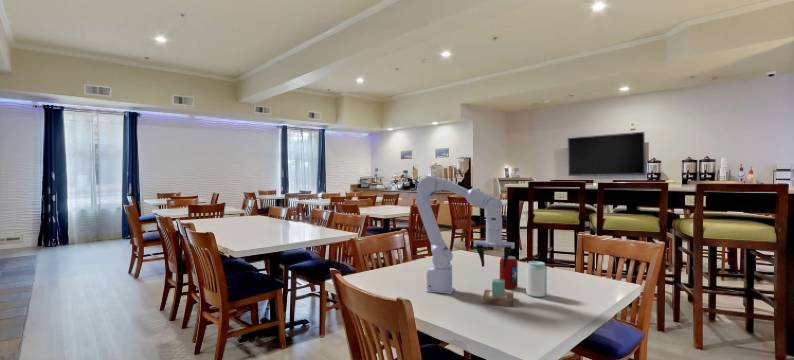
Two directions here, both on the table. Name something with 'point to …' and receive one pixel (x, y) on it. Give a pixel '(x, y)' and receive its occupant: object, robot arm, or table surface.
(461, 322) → the table surface
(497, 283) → the teal block
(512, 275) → the beverage can
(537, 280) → the can
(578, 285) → the table surface
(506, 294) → the walnut base
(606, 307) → the table surface
